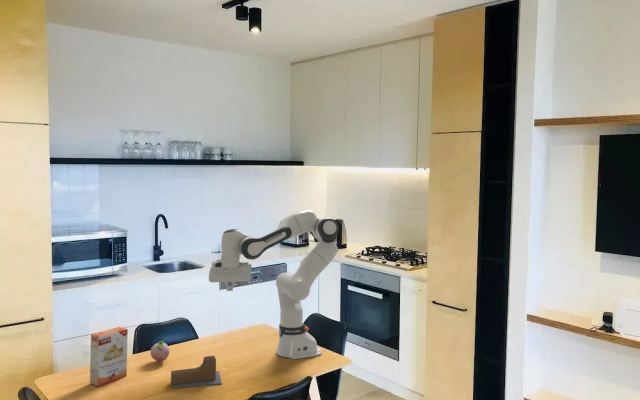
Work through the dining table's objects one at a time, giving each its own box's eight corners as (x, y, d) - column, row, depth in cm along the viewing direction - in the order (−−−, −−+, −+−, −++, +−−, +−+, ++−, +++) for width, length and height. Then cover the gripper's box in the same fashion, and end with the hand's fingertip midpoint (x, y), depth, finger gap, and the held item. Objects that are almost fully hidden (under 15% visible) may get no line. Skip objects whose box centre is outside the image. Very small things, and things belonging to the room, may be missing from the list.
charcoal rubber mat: (218, 372, 224) (219, 371, 224) (221, 384, 212) (221, 383, 212) (172, 376, 219) (172, 374, 219) (171, 388, 206) (172, 387, 206)
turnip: (149, 359, 237) (149, 338, 236) (167, 357, 240) (167, 336, 239) (151, 367, 228) (151, 345, 227) (170, 364, 231) (170, 343, 231)
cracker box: (98, 387, 205) (98, 336, 204) (89, 383, 209) (89, 334, 207) (127, 376, 217) (128, 328, 216) (118, 372, 220) (119, 325, 219)
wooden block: (214, 355, 218) (171, 359, 212) (216, 359, 214) (172, 363, 208) (214, 375, 219) (170, 381, 212) (215, 379, 215) (172, 385, 208)
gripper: (250, 260, 251) (250, 288, 252) (208, 261, 245) (208, 289, 246) (252, 263, 245) (251, 291, 246) (209, 264, 239) (208, 293, 240)
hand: (229, 290), depth 246 cm, fingers closed
